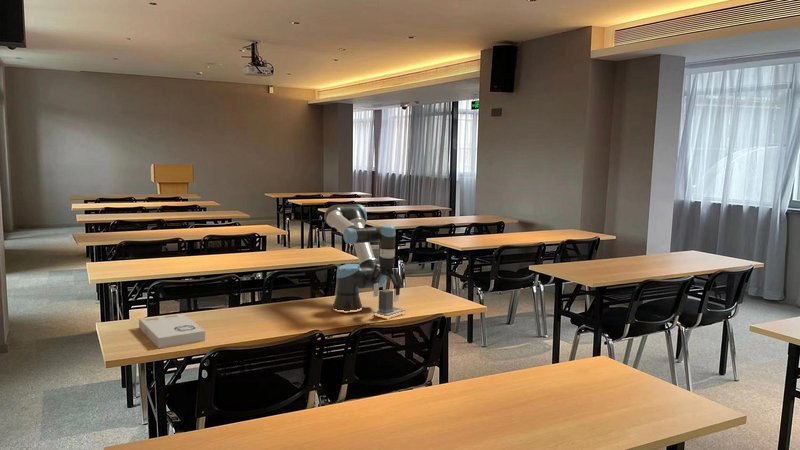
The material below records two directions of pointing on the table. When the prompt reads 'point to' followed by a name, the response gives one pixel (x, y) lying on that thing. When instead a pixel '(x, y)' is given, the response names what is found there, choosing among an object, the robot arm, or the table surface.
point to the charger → (385, 301)
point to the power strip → (395, 310)
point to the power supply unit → (172, 330)
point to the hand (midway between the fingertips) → (385, 298)
